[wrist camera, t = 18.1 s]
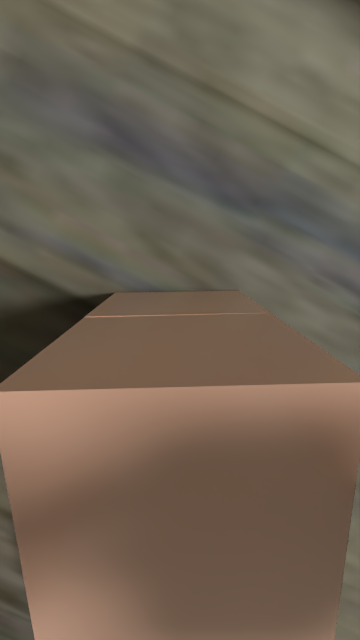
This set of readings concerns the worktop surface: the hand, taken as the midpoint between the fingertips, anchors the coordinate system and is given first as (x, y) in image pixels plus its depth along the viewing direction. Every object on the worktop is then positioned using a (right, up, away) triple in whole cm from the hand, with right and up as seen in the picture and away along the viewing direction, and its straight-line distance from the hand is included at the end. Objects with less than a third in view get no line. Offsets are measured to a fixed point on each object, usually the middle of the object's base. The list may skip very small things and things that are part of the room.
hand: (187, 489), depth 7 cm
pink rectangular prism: (0, +1, +4) cm, 4 cm away
